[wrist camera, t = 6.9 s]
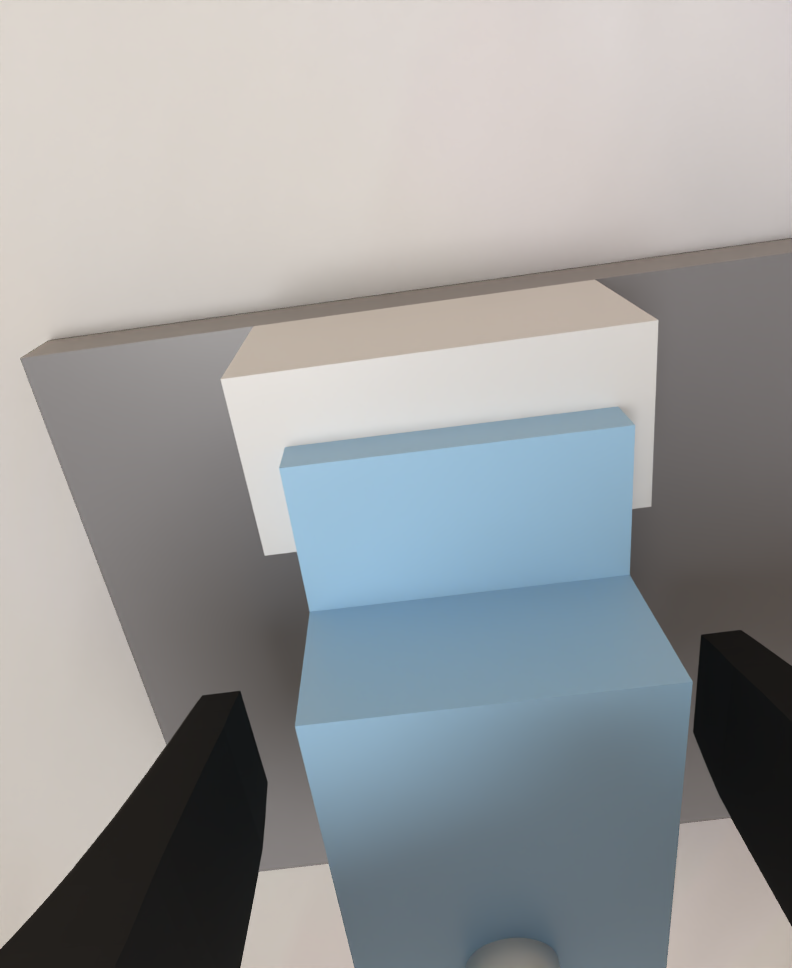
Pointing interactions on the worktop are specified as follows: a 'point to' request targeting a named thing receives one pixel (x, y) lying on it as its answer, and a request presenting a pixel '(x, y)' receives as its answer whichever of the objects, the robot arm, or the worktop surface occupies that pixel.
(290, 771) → the plate
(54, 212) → the worktop surface
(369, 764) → the block
